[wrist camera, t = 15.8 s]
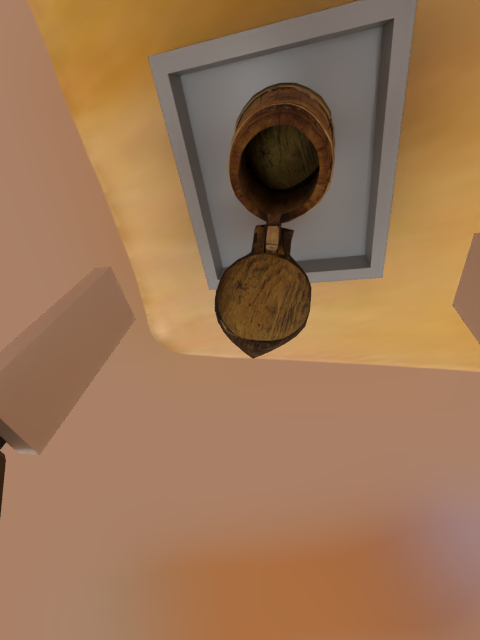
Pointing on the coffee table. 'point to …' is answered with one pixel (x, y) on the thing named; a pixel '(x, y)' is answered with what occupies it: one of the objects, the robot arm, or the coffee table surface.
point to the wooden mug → (274, 212)
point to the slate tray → (347, 117)
